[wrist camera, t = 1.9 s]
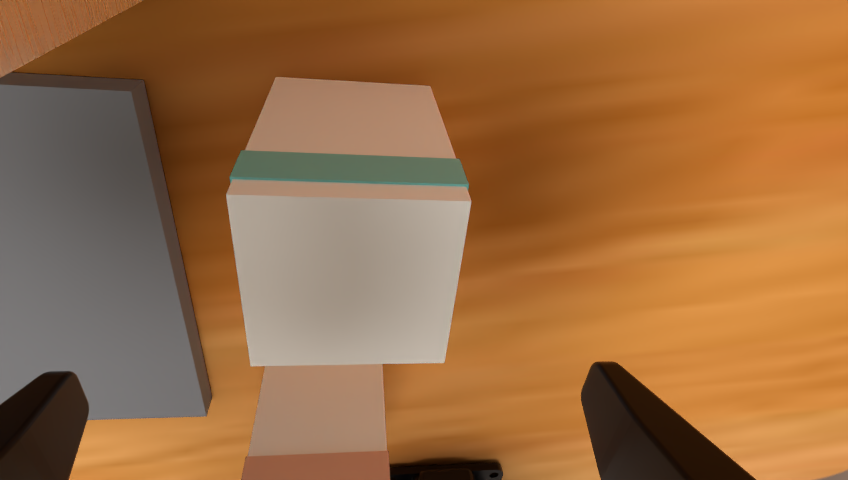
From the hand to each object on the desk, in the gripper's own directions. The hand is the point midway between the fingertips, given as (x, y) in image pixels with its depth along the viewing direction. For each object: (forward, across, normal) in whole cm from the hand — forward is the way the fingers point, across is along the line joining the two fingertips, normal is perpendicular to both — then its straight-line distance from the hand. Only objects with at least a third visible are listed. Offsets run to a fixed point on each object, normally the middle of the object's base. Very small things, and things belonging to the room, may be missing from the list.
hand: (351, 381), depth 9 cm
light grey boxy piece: (+9, +1, +11) cm, 14 cm away
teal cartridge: (+9, 0, 0) cm, 9 cm away
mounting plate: (+9, +11, +5) cm, 15 cm away
